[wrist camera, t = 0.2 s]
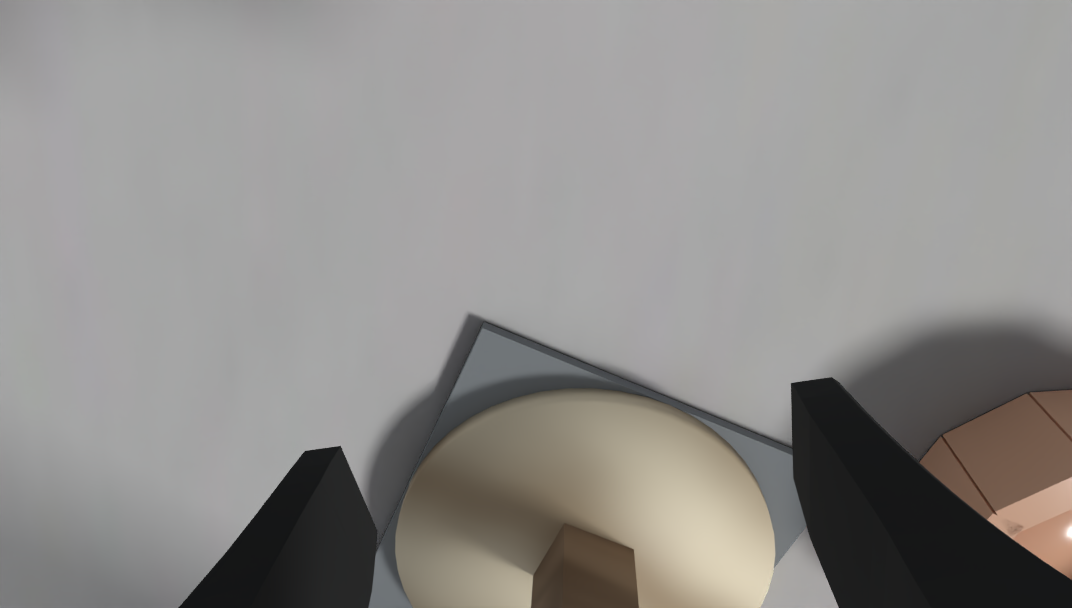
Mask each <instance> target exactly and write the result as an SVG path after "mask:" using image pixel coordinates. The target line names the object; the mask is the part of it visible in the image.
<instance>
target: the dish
mask: <svg viewBox="0 0 1072 608" xmlns="http://www.w3.org/2000/svg"><path fill="white" fill-rule="evenodd" d="M943 437H944V438H943ZM943 437H939V439H938V440H937V441H936V442H935V444H934V445H933V446H932V447H931V449H930V450H929V451H928V452H927V453H926V455H925V456H924V457H923V458H922V460H921V461H920V462H919V463H920V464H921V465H923V466H924V467H925V468H926V469H927V470H928V471H929V472H930V473H931V474H932V475H934V476H935V477H936V478H937V479H938V480H939V481H940V482H942V483H943V484H944V485H945V486H946V487H947V488H949V489H950V490H951V491H952V492H953V493H954V494H956V495H957V496H958V497H959V498H961V499H962V500H963V501H964V502H966V503H967V504H968V505H969V506H970V507H972V508H973V509H974V510H975V511H977V512H978V513H979V514H980V515H982V516H983V517H984V518H985V519H987V520H988V521H989V522H991V523H992V524H993V525H994V526H996V527H997V528H998V529H1000V530H1001V531H1002V532H1004V533H1005V534H1006V535H1008V536H1009V537H1010V538H1012V539H1013V540H1014V541H1016V542H1017V543H1019V544H1020V545H1022V546H1023V547H1024V548H1026V549H1027V550H1029V551H1030V552H1031V553H1033V554H1034V555H1036V556H1037V557H1038V558H1040V559H1041V560H1043V561H1044V562H1046V563H1047V564H1049V565H1050V566H1052V567H1053V568H1055V569H1056V570H1058V571H1059V572H1061V573H1062V574H1064V575H1065V576H1067V577H1068V578H1070V579H1071V580H1072V390H1061V391H1045V392H1030V393H1029V395H1028V394H1027V393H1026V394H1024V395H1022V396H1020V397H1018V398H1016V399H1014V400H1012V401H1010V402H1008V403H1006V404H1004V405H1002V406H1000V407H998V408H996V409H994V410H992V411H990V412H988V413H986V414H984V415H982V416H980V417H978V418H976V419H974V420H972V421H970V422H967V423H965V424H963V425H961V426H959V427H957V428H955V429H953V430H951V431H949V432H947V433H945V434H943Z"/></svg>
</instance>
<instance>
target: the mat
mask: <svg viewBox="0 0 1072 608" xmlns="http://www.w3.org/2000/svg"><path fill="white" fill-rule="evenodd" d="M567 388H596V389H605V390H615V391H622V392H627V393H631V394H636V395H640V396H645V397H648V398H651V399H654V400H657V401H660V402H663V403H665V404H668V405H671V406H673V407H675V408H677V409H679V410H681V411H683V412H685V413H687V414H689V415H691V416H693V417H695V418H696V419H698V420H699V421H701V422H702V423H704V424H705V425H707V426H709V427H710V428H712V429H713V430H714V431H715V432H717V433H718V434H719V435H720V436H721V437H722V438H723V439H725V440H726V441H727V442H728V443H729V444H730V445H731V446H732V447H733V448H734V449H735V450H736V452H737V453H738V454H739V455H740V456H741V457H742V458H743V460H744V461H745V462H746V464H747V465H748V467H749V468H750V470H751V472H752V473H753V475H754V476H755V478H756V480H757V482H758V484H759V487H760V489H761V491H762V494H763V496H764V499H765V502H766V505H767V508H768V511H769V515H770V519H771V523H772V527H773V531H774V539H775V562H774V568H775V566H776V565H777V564H778V562H779V561H780V560H781V558H782V557H783V556H784V555H785V553H786V552H787V551H788V549H789V548H790V547H791V545H792V544H793V543H794V542H795V540H796V539H797V538H798V536H799V535H800V534H801V532H802V531H803V530H804V529H805V527H806V526H807V525H806V522H805V518H804V515H803V511H802V508H801V504H800V501H799V497H798V493H797V490H796V486H795V482H794V479H793V449H792V448H789V447H787V446H784V445H782V444H780V443H777V442H775V441H772V440H770V439H767V438H765V437H763V436H760V435H758V434H755V433H753V432H750V431H748V430H746V429H743V428H741V427H738V426H736V425H733V424H731V423H729V422H726V421H724V420H721V419H719V418H716V417H714V416H712V415H709V414H707V413H704V412H702V411H699V410H697V409H695V408H692V407H690V406H687V405H685V404H682V403H680V402H678V401H675V400H673V399H670V398H668V397H665V396H663V395H661V394H658V393H656V392H653V391H651V390H648V389H646V388H644V387H641V386H639V385H636V384H634V383H631V382H629V381H627V380H624V379H622V378H619V377H617V376H615V375H612V374H610V373H607V372H605V371H602V370H600V369H598V368H595V367H593V366H590V365H588V364H585V363H583V362H581V361H578V360H576V359H573V358H571V357H568V356H566V355H564V354H561V353H559V352H556V351H554V350H551V349H549V348H547V347H544V346H542V345H539V344H537V343H534V342H532V341H530V340H527V339H525V338H522V337H520V336H517V335H515V334H513V333H510V332H508V331H505V330H503V329H500V328H498V327H496V326H493V325H491V324H488V323H486V322H484V323H483V325H482V327H481V329H480V331H479V333H478V335H477V337H476V340H475V342H474V344H473V346H472V348H471V350H470V352H469V355H468V357H467V359H466V361H465V363H464V365H463V367H462V369H461V372H460V374H459V376H458V378H457V380H456V382H455V384H454V387H453V389H452V391H451V393H450V395H449V397H448V399H447V401H446V404H445V406H444V408H443V410H442V412H441V414H440V416H439V418H438V421H437V423H436V425H435V427H434V429H433V431H432V433H431V436H430V438H429V440H428V442H427V444H426V446H425V448H424V450H423V453H422V455H421V457H420V459H419V461H418V463H417V465H416V468H415V470H414V472H413V474H412V476H411V478H410V480H409V482H408V485H407V487H406V489H405V491H404V493H403V495H402V497H401V500H400V502H399V504H398V506H397V508H396V510H395V512H394V514H393V517H392V519H391V521H390V523H389V525H388V527H387V529H386V531H385V534H384V536H383V538H382V540H381V542H380V544H379V546H378V549H377V551H376V555H375V567H374V576H373V586H372V593H371V598H370V603H369V607H368V608H413V607H412V605H411V603H410V601H409V599H408V597H407V595H406V593H405V591H404V589H403V585H402V582H401V579H400V576H399V573H398V568H397V561H396V555H395V537H396V529H397V524H398V519H399V514H400V511H401V507H402V504H403V500H404V497H405V495H406V492H407V489H408V487H409V484H410V481H411V479H412V478H413V476H414V474H415V472H416V471H417V469H418V467H419V465H420V464H421V462H422V461H423V460H424V458H425V457H426V456H427V455H428V453H429V452H430V451H431V450H432V448H433V447H434V446H435V445H436V444H437V443H438V442H439V441H440V440H441V439H443V438H444V437H445V436H446V435H447V434H448V433H449V432H450V431H451V430H453V429H454V428H456V427H457V426H459V425H460V424H461V423H463V422H464V421H466V420H467V419H469V418H470V417H472V416H474V415H476V414H478V413H480V412H482V411H484V410H486V409H487V408H489V407H491V406H494V405H497V404H500V403H502V402H505V401H508V400H510V399H513V398H516V397H520V396H524V395H529V394H533V393H537V392H542V391H550V390H558V389H567Z"/></svg>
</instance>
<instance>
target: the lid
mask: <svg viewBox="0 0 1072 608" xmlns="http://www.w3.org/2000/svg"><path fill="white" fill-rule="evenodd" d="M395 555H396V561H397V568H398V573H399V576H400V579H401V582H402V585H403V589H404V591H405V593H406V595H407V597H408V599H409V601H410V603H411V605H412V607H413V608H760V607H761V605H762V603H763V600H764V598H765V596H766V594H767V592H768V589H769V586H770V582H771V579H772V575H773V571H774V562H775V539H774V531H773V527H772V523H771V519H770V515H769V511H768V508H767V505H766V502H765V499H764V496H763V494H762V491H761V489H760V487H759V484H758V482H757V480H756V478H755V476H754V475H753V473H752V472H751V470H750V468H749V467H748V465H747V464H746V462H745V461H744V460H743V458H742V457H741V456H740V455H739V454H738V453H737V452H736V450H735V449H734V448H733V447H732V446H731V445H730V444H729V443H728V442H727V441H726V440H725V439H723V438H722V437H721V436H720V435H719V434H718V433H717V432H715V431H714V430H713V429H712V428H710V427H709V426H707V425H705V424H704V423H702V422H701V421H699V420H698V419H696V418H695V417H693V416H691V415H689V414H687V413H685V412H683V411H681V410H679V409H677V408H675V407H673V406H671V405H668V404H665V403H663V402H660V401H657V400H654V399H651V398H648V397H645V396H640V395H636V394H631V393H627V392H622V391H615V390H605V389H596V388H567V389H558V390H550V391H542V392H537V393H533V394H529V395H524V396H520V397H516V398H513V399H510V400H508V401H505V402H502V403H500V404H497V405H494V406H491V407H489V408H487V409H486V410H484V411H482V412H480V413H478V414H476V415H474V416H472V417H470V418H469V419H467V420H466V421H464V422H463V423H461V424H460V425H459V426H457V427H456V428H454V429H453V430H451V431H450V432H449V433H448V434H447V435H446V436H445V437H444V438H443V439H441V440H440V441H439V442H438V443H437V444H436V445H435V446H434V447H433V448H432V450H431V451H430V452H429V453H428V455H427V456H426V457H425V458H424V460H423V461H422V462H421V464H420V465H419V467H418V469H417V471H416V472H415V474H414V476H413V478H412V479H411V481H410V484H409V487H408V489H407V492H406V495H405V497H404V500H403V504H402V507H401V511H400V514H399V519H398V524H397V529H396V537H395Z"/></svg>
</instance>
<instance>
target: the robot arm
mask: <svg viewBox="0 0 1072 608" xmlns="http://www.w3.org/2000/svg"><path fill="white" fill-rule="evenodd" d="M791 400H792V446H793V479H794V482H795V486H796V490H797V493H798V497H799V501H800V504H801V508H802V511H803V515H804V518H805V522H806V525H807V528H808V532H809V535H810V538H811V541H812V543H813V546H814V548H815V551H816V553H817V556H818V558H819V561H820V563H821V565H822V568H823V570H824V573H825V575H826V578H827V580H828V582H829V585H830V587H831V590H832V592H833V594H834V597H835V599H836V602H837V604H838V606H839V608H1072V580H1071V579H1070V578H1068V577H1067V576H1065V575H1064V574H1062V573H1061V572H1059V571H1058V570H1056V569H1055V568H1053V567H1052V566H1050V565H1049V564H1047V563H1046V562H1044V561H1043V560H1041V559H1040V558H1038V557H1037V556H1036V555H1034V554H1033V553H1031V552H1030V551H1029V550H1027V549H1026V548H1024V547H1023V546H1022V545H1020V544H1019V543H1017V542H1016V541H1014V540H1013V539H1012V538H1010V537H1009V536H1008V535H1006V534H1005V533H1004V532H1002V531H1001V530H1000V529H998V528H997V527H996V526H994V525H993V524H992V523H991V522H989V521H988V520H987V519H985V518H984V517H983V516H982V515H980V514H979V513H978V512H977V511H975V510H974V509H973V508H972V507H970V506H969V505H968V504H967V503H966V502H964V501H963V500H962V499H961V498H959V497H958V496H957V495H956V494H954V493H953V492H952V491H951V490H950V489H949V488H947V487H946V486H945V485H944V484H943V483H942V482H940V481H939V480H938V479H937V478H936V477H935V476H934V475H932V474H931V473H930V472H929V471H928V470H927V469H926V468H925V467H924V466H923V465H921V464H920V463H919V462H918V461H917V460H916V459H915V458H914V457H913V456H912V455H910V454H909V453H908V452H907V451H906V450H905V449H904V448H903V447H902V446H901V445H900V444H899V443H898V442H897V441H895V440H894V439H893V438H892V437H891V436H890V435H889V434H888V433H887V432H886V431H885V430H884V429H883V428H882V427H881V426H880V425H879V424H878V423H877V422H876V421H875V420H874V419H873V418H872V417H871V416H870V415H869V414H868V413H867V412H866V411H865V410H864V409H863V408H862V407H861V406H860V404H859V403H858V402H857V401H856V400H855V399H854V398H853V397H852V396H851V395H850V394H849V393H848V392H847V391H846V390H845V388H844V387H843V386H842V385H841V384H840V383H839V382H838V381H836V380H835V379H833V378H832V377H831V378H824V379H817V380H809V381H802V382H795V383H791ZM376 542H377V529H376V527H375V524H374V522H373V520H372V517H371V515H370V513H369V511H368V508H367V506H366V504H365V501H364V499H363V497H362V494H361V492H360V490H359V487H358V485H357V483H356V481H355V478H354V476H353V474H352V471H351V469H350V467H349V464H348V462H347V460H346V457H345V455H344V453H343V451H342V448H341V446H338V447H330V448H323V449H316V450H309V451H305V452H304V453H303V454H302V455H301V457H300V458H299V459H298V460H297V462H296V463H295V464H294V466H293V467H292V468H291V469H290V471H289V472H288V473H287V475H286V476H285V477H284V479H283V480H282V481H281V483H280V484H279V485H278V486H277V488H276V489H275V490H274V492H273V493H272V494H271V496H270V497H269V498H268V500H267V501H266V502H265V503H264V505H263V506H262V507H261V509H260V510H259V511H258V513H257V514H256V515H255V517H254V518H253V519H252V520H251V522H250V523H249V524H248V525H247V527H246V528H245V529H244V530H243V532H242V533H241V534H240V536H239V537H238V538H237V539H236V541H235V542H234V543H233V544H232V546H231V547H230V548H229V549H228V551H227V552H226V553H225V554H224V556H223V557H222V558H221V559H220V560H219V561H218V563H217V564H216V565H215V566H214V567H213V568H212V570H211V571H210V572H209V573H208V574H207V575H206V577H205V578H204V579H203V580H202V581H201V582H200V584H199V585H198V586H197V587H196V588H195V589H194V591H193V592H192V593H191V594H190V595H189V596H188V598H187V599H186V600H185V601H184V602H183V603H182V605H181V606H180V607H179V608H368V607H369V603H370V598H371V593H372V586H373V576H374V567H375V555H376Z"/></svg>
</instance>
